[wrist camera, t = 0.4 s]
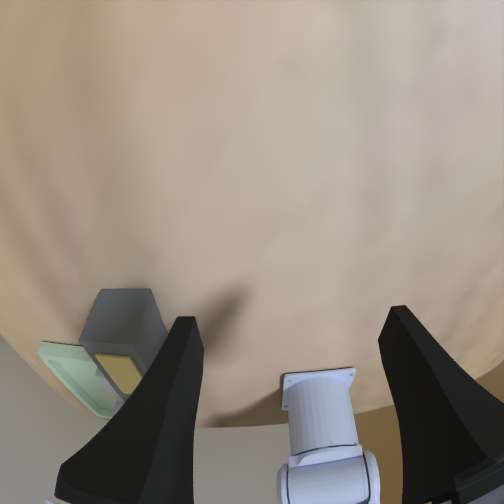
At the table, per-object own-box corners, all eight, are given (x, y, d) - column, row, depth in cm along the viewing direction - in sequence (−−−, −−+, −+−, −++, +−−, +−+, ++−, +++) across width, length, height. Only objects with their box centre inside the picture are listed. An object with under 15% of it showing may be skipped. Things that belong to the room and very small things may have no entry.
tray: (154, 414, 39) (152, 424, 37) (99, 406, 39) (96, 416, 38) (107, 348, 29) (103, 362, 27) (42, 341, 29) (36, 353, 27)
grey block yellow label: (175, 353, 29) (167, 404, 24) (133, 351, 29) (121, 399, 24) (150, 288, 23) (132, 347, 19) (101, 289, 24) (77, 342, 19)
